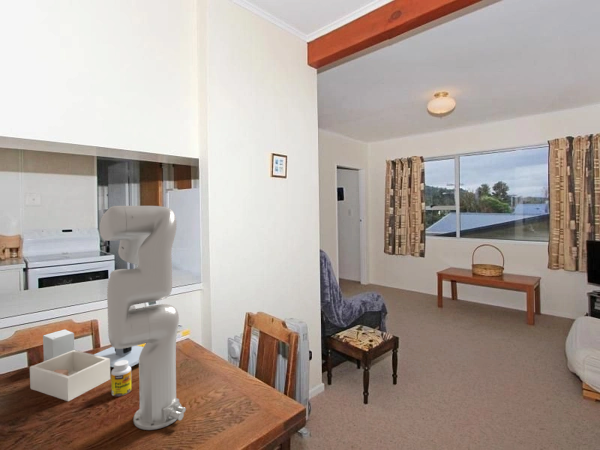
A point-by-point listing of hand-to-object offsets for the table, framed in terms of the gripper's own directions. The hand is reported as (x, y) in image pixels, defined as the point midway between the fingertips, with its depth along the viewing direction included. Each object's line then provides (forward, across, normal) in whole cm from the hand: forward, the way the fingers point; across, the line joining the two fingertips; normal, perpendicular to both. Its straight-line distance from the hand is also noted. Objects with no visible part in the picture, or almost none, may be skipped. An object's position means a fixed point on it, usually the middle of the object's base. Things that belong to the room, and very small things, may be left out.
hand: (123, 350), depth 125 cm
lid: (+2, 0, 0) cm, 2 cm away
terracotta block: (+4, +6, +20) cm, 21 cm away
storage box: (+5, +2, +18) cm, 19 cm away
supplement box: (+5, +19, +11) cm, 23 cm away
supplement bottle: (+5, -17, +15) cm, 23 cm away
